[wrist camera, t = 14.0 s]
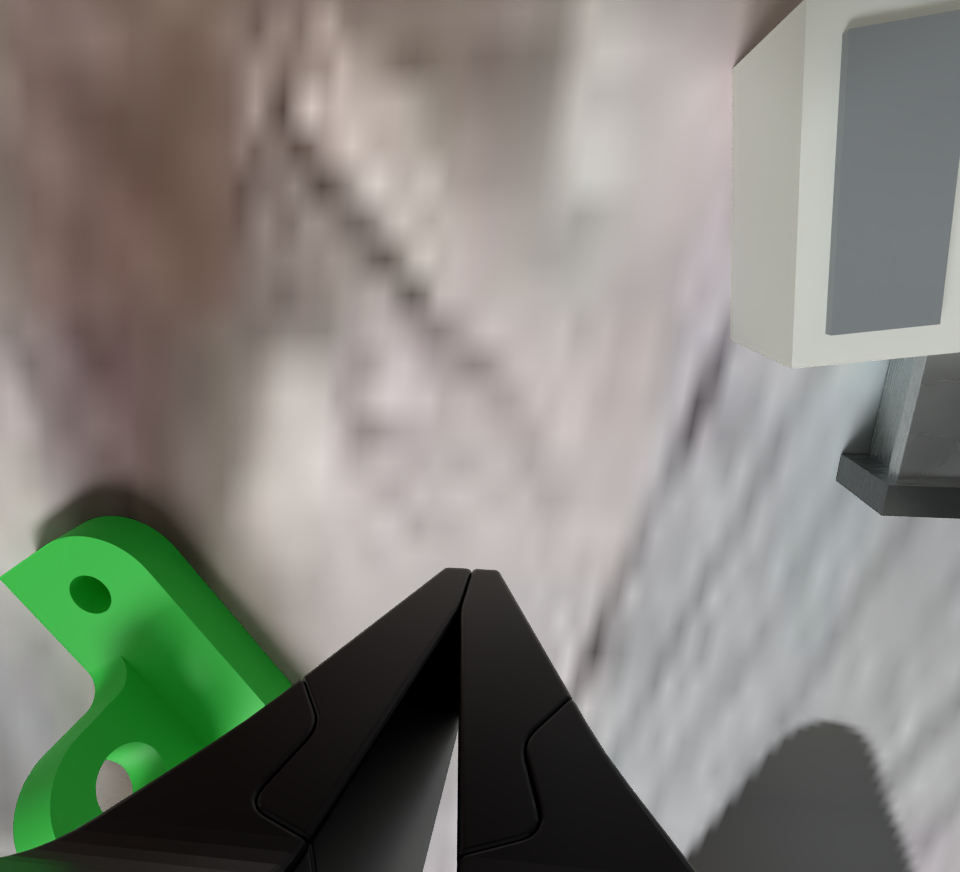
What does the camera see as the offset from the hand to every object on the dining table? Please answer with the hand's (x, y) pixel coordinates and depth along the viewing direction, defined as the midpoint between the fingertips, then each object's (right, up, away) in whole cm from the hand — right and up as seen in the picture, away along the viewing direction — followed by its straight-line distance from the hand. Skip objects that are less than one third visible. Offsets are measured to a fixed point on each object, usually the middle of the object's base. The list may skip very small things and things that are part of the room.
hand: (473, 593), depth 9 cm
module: (+10, +10, +9) cm, 17 cm away
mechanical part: (-14, -6, +17) cm, 22 cm away
